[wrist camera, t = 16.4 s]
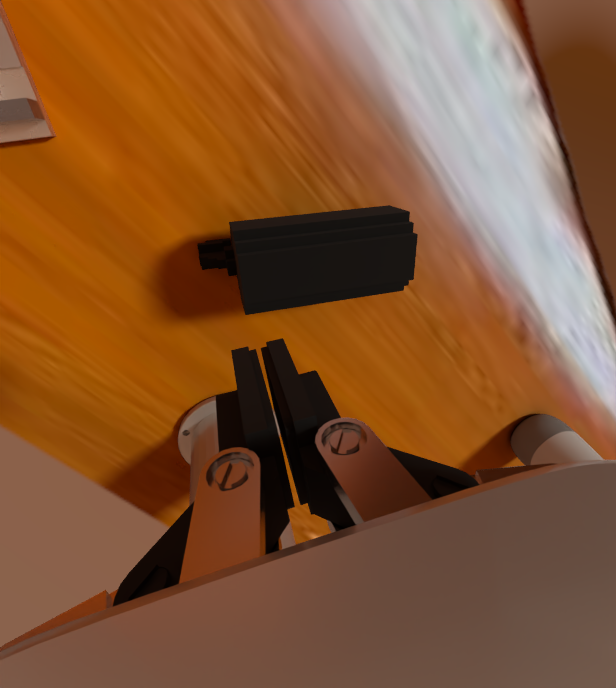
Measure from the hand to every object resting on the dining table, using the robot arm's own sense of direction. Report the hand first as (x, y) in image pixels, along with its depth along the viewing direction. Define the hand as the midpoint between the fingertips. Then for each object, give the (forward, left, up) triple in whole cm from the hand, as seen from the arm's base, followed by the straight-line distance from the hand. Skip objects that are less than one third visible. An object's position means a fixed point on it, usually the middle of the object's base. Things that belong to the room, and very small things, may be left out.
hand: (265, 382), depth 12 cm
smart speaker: (-42, -43, -27) cm, 66 cm away
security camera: (-3, -6, -27) cm, 28 cm away
